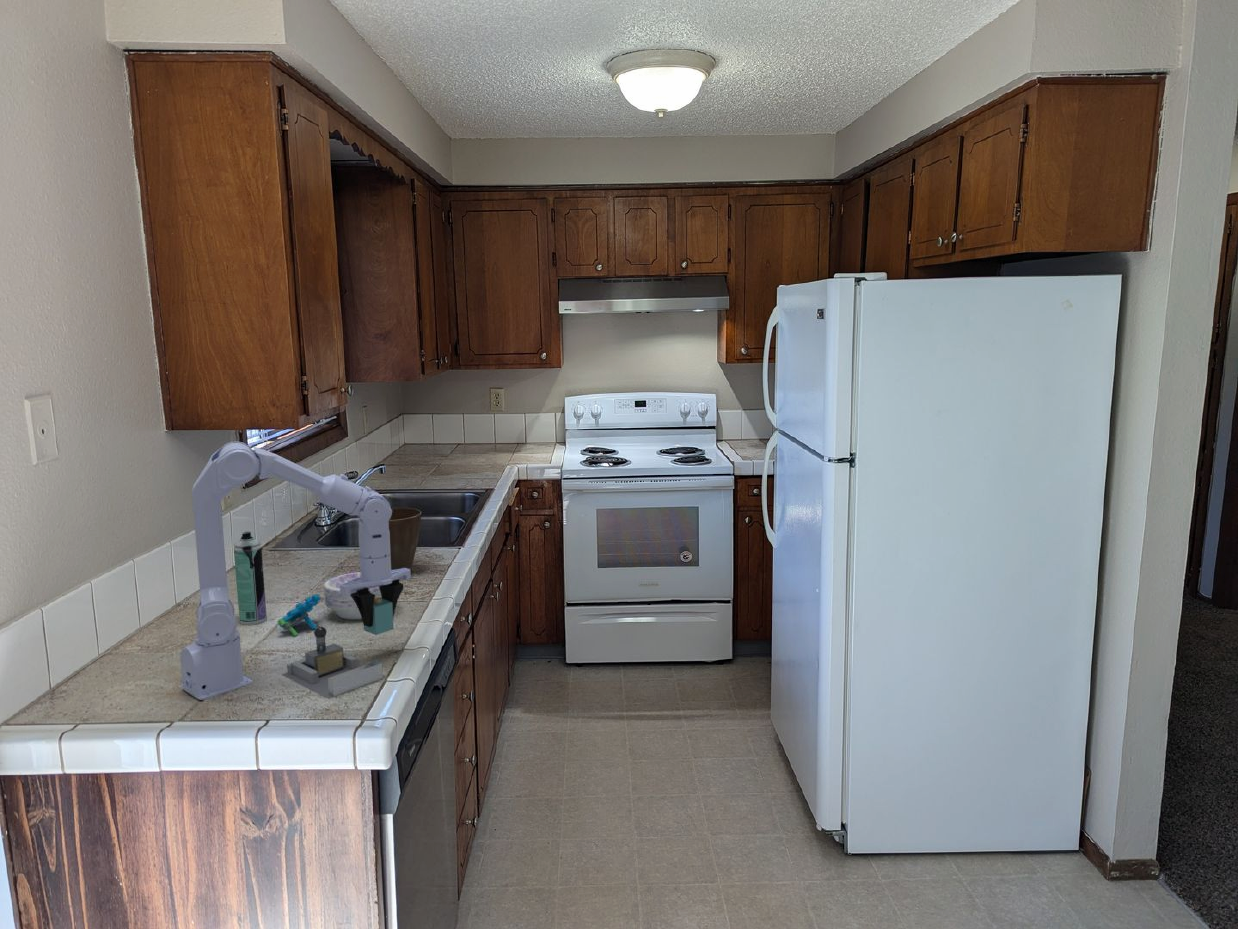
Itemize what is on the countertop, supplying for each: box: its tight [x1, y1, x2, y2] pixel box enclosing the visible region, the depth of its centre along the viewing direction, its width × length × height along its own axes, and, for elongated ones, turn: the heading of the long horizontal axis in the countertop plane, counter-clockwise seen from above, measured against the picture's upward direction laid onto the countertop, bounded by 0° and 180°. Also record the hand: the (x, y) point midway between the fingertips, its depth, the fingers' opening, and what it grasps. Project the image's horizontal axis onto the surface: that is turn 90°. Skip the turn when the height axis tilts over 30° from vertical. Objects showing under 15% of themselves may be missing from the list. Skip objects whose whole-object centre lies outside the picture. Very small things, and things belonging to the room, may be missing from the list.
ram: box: [304, 626, 344, 677], centre depth 157 cm, size 6×4×8 cm, turn 140°
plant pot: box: [388, 507, 422, 571], centre depth 219 cm, size 15×15×16 cm
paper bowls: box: [323, 571, 382, 621], centre depth 189 cm, size 15×15×8 cm
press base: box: [281, 651, 388, 700], centre depth 155 cm, size 12×16×3 cm
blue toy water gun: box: [277, 593, 322, 637], centre depth 180 cm, size 11×6×10 cm
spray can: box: [233, 531, 267, 626], centre depth 184 cm, size 6×6×20 cm
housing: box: [363, 597, 394, 636], centre depth 163 cm, size 4×4×6 cm
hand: (378, 622), depth 164 cm, fingers closed on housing, 4 cm apart
